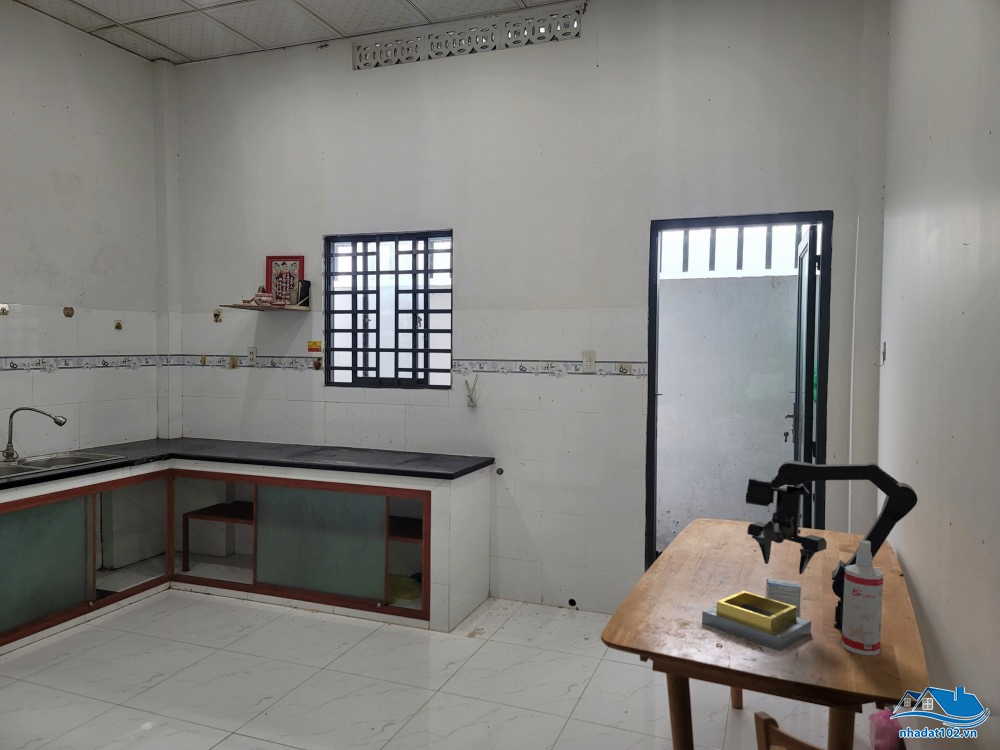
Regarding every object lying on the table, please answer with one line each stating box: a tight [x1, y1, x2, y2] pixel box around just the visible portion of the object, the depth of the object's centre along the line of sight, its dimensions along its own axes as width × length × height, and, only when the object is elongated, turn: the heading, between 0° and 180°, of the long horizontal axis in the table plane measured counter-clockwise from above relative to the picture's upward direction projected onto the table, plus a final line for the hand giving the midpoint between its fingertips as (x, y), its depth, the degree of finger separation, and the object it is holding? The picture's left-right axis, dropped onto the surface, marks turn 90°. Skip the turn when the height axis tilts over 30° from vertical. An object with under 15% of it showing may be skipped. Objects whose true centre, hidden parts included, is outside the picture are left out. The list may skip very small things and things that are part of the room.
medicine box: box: [765, 578, 802, 618], centre depth 173 cm, size 8×4×9 cm, turn 74°
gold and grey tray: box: [701, 590, 812, 652], centre depth 164 cm, size 20×16×6 cm
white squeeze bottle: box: [841, 540, 884, 656], centre depth 154 cm, size 8×8×25 cm
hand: (783, 568), depth 173 cm, fingers open, 9 cm apart
